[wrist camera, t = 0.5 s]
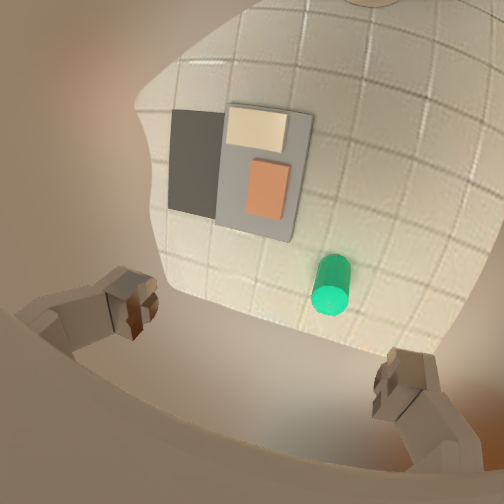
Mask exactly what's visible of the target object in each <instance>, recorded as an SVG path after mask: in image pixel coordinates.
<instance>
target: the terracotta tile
mask: <svg viewBox="0 0 504 504" xmlns="http://www.w3.org/2000/svg"><path fill="white" fill-rule="evenodd" d="M290 169H291V165H289V164H284V163H279V162H274V161H269V160H263V159H258V158H254V159H252V160H251V166H250V174H249V182H248V191H247V199H246V207H245V213H249V214H253V215H257V216H262V217H266V218H270V219H274V220H278V221H280V220H281V218H282V217H283V211H284V205H285V199H286V193H287V187H288V181H289V175H290Z"/></svg>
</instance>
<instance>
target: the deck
mask: <svg viewBox="0 0 504 504" xmlns="http://www.w3.org/2000/svg"><path fill="white" fill-rule="evenodd" d="M230 107H240V108H248V109H256V110H264V111H271V112H277V113H284V114H289V121H288V127H287V134H286V141H285V147H284V151H283V152H282V153H279V152H274V151H269V150H263V149H257V148H252V147H245V146H239V145H233V144H226V137H227V128H228V118H229V109H230ZM313 120H314V115H310V114H305V113H299V112H294V111H288V110H281V109H275V108H268V107H261V106H253V105H244V104H235V103H226V109H225V118H224V128H223V138H222V148H221V158H220V169H219V181H218V193H217V205H216V218H215V225H219V226H223V227H227V228H231V229H235V230H239V231H243V232H247V233H251V234H255V235H259V236H263V237H267V238H271V239H275V240H279V241H283V242H287V243H290V241H291V239H292V235H293V230H294V225H295V220H296V215H297V210H298V205H299V199H300V194H301V189H302V183H303V178H304V172H305V167H306V161H307V155H308V150H309V144H310V138H311V132H312V126H313ZM254 158H258V159H263V160H269V161H274V162H279V163H284V164H289V165H291V169H290V175H289V181H288V187H287V193H286V199H285V205H284V211H283V217H282V218H281V220H280V221H278V220H274V219H270V218H266V217H262V216H257V215H253V214H249V213H245V207H246V199H247V191H248V182H249V174H250V166H251V160H252V159H254Z"/></svg>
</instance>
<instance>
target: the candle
mask: <svg viewBox="0 0 504 504" xmlns="http://www.w3.org/2000/svg"><path fill="white" fill-rule="evenodd" d="M349 284H350V264H349V262H348V261H347V260H346V258H344V257H342V256H340V255H338V254H335V255H328V256H326V257H325V258H323V259H322V261H321V263H320V265H319V268H318V272H317V276H316V280H315V284H314V287H313V291H312V295H311V301H312V305H313V306H314V308H315V309H316V311H317V312H319V313H322V314H325V315H331V316H336V315H338V314H340V313H342V312H343V311H344V310H345V308H346V307H347V305H348V297H349Z"/></svg>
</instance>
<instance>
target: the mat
mask: <svg viewBox="0 0 504 504" xmlns="http://www.w3.org/2000/svg"><path fill="white" fill-rule="evenodd" d="M224 118H225V114H223V113H213V112H202V111H188V110H172V120H171V136H170V157H169V190H168V208H169V209H173V210H178V211H182V212H186V213H190V214H195V215H199V216H203V217H207V218H212V219H215V218H216V205H217V193H218V181H219V169H220V158H221V148H222V138H223V128H224Z"/></svg>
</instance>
